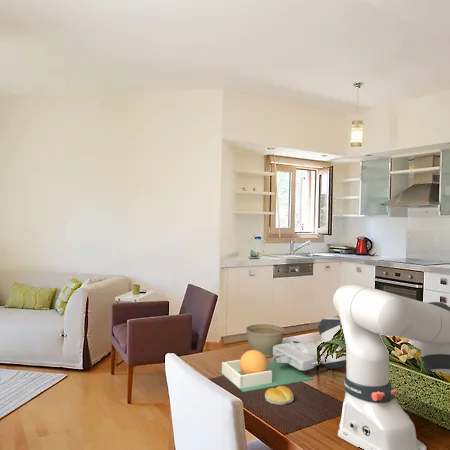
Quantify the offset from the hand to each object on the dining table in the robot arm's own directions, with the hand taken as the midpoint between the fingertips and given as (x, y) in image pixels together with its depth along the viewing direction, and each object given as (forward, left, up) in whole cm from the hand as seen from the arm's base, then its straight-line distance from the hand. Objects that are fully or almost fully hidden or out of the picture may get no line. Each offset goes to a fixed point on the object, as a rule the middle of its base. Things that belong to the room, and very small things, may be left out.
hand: (275, 359), depth 152 cm
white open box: (-1, +12, -5) cm, 13 cm away
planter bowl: (+20, -7, -5) cm, 22 cm away
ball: (-2, +11, 0) cm, 11 cm away
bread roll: (-20, +11, -5) cm, 23 cm away
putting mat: (-1, +5, -5) cm, 7 cm away
